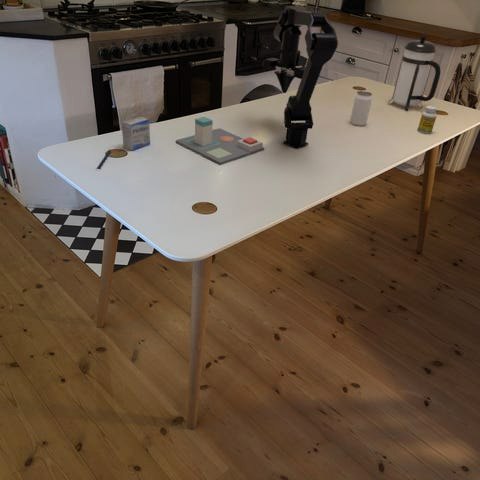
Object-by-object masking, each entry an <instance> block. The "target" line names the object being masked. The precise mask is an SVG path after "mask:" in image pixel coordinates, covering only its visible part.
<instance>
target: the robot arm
mask: <svg viewBox="0 0 480 480" xmlns="http://www.w3.org/2000/svg"><path fill="white" fill-rule="evenodd" d="M307 10H308V9H307V8H306V7H305V6H298V5H297V6H296V5H294V6H293V5H286V6H284V8H283V9H282V11H281V13H280V15H279V17H278V19H277V21H276V22H277V23H276V24H277V25H276V26H275V27H274V28H273V29H274V30H273V36H274V38H275V40H277V41H278V42H280V43H281V48H280V49H278V53H279V54H280V59H279V58H277V57H276V58H275V57H269V58H265V59H264V60H263V61H262V68H263V69H267V70H269V69H270V68H272V67H273V68H275V71H274V72H273V73H274V74H275V75H276V77H277V78H276V79H277V80H278V82H279V86H280V89H281V92H282V93H283V94H286V93H287V91H288V89H289V88H290V86H291V84H292V82H293V80H294V79H295V78H296V79H300V82H299V84H298V85H299V86H298V88H297V91H296V94H295V95H290V96H289V97H288V99H287V102H286V107H285V108H284V111H283V123H284V128H286V131H285V140H283V142H282V143H283V144H284V145H287V146H289V147H292V148H294V149H300V148H302V147H305V146H308V145H309V143H308V142H307V139H308V138H307V137H308V131H309V130H308V129H310V130H312V129H313V126H314V119H313V114H312V110H313V109H312V106H311V104H310V101H311V98H312V95H313V93H314V91H315V88H316V85H317V82H318V80H319V77H320V74H321V72H322V69H323V67H324V65H325V64H327V62H329V61H330V60H331V59H332V58H333V56H334V54H335V53H336V50H337V48H338V45H339V41H338V37H337V32H336V29H335V28H334V26H333V25H332V24H331V23H330V22H329V21H328V18H327V15H326V13H324V12H319V11H318V12H317V11H316V12H315V11H307ZM302 26H307V30H306V32H305V35H304V41H305V45H306V53H307V57H308V58H307V57H305V56H303V55H301V50H300V49H299V44H300V37H301V35H302V30H301V29H300V28H301V27H302ZM312 28H320V29H321V31H322V32H313V33H312V30H311V29H312Z"/></svg>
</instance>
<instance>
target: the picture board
mask: <svg viewBox="0 0 480 480" xmlns="http://www.w3.org/2000/svg"><path fill="white" fill-rule="evenodd" d="M249 137H250V136H249ZM249 137H244V138H242V137H240V136H238V135H237V134H234V133H231V132H230V131H227V130H225V129H223V128H221V127H219V128H215V129H212V144H208V145H205V146H201V145H199V144H197V143H195V134H194V135H190V136H186V137H184V138H180V139H176V140H175V143H176V144H178V145H180V146H181V147H184V148H185V149H188V150H190V151H191V152H194V153H196V154H198V155H200V156H202V157H203V158H205V159H208V160H210V161H211V162H214V163H216V164H218V165H220V166H221V165H224V164H227V163H230V162H233V161H236V160H239V159H242V158H245V157H247V156H248V157H249V156H251V155H253V154H257V153H259V152H262V151H264V150H265V147H264V146H263V144H264V142H262V141H260V140H258V139H256V138H254V139H255V140H257V143H254V144H251V145H249V144H247V143H245V142H243V139H246V138H249Z"/></svg>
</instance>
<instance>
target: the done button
mask: <svg viewBox="0 0 480 480" xmlns="http://www.w3.org/2000/svg"><path fill="white" fill-rule="evenodd" d="M245 138H246V139H245ZM245 138H243V142H245V143H247V144H249V145H251V144H254V143H257V140H258V139H256V138H253V137H252V136H249V138H248V137H245ZM255 139H256V140H255Z"/></svg>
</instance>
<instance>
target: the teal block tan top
mask: <svg viewBox="0 0 480 480" xmlns="http://www.w3.org/2000/svg"><path fill="white" fill-rule="evenodd" d="M212 130H213V119H210V118H209V117H206V116H201V117H198V118H195V119H194V135H195V143H197V144H199V145H201V146H205V145H208V144H212Z"/></svg>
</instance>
